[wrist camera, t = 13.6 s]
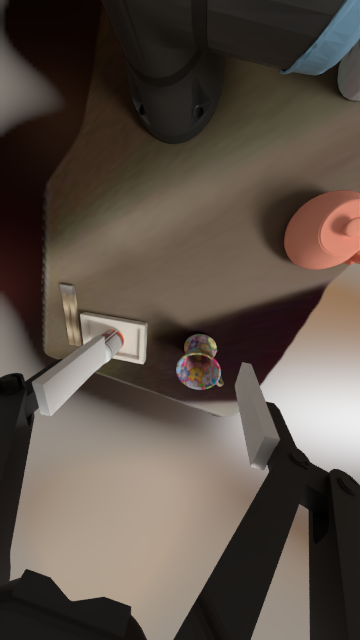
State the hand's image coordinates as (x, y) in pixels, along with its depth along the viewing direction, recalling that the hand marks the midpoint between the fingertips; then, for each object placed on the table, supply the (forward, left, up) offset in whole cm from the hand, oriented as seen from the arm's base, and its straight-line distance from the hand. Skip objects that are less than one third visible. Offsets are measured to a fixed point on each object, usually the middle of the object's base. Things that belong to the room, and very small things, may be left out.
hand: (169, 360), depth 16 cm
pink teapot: (-15, +22, -27) cm, 38 cm away
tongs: (+11, -33, -27) cm, 44 cm away
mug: (+14, +5, -27) cm, 31 cm away
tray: (+15, -20, -27) cm, 37 cm away
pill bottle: (+15, -20, -26) cm, 36 cm away
